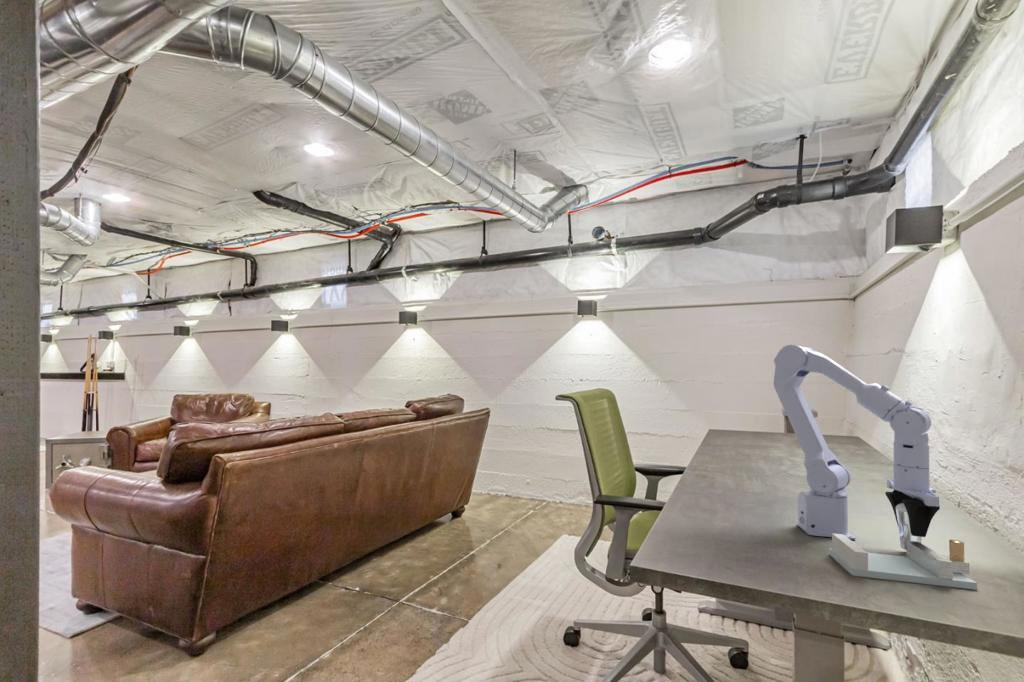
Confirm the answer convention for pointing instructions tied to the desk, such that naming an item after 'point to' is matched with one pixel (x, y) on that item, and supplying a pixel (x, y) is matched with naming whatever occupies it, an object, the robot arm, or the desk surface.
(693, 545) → the desk surface
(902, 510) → the milkshake
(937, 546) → the desk surface
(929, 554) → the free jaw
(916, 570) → the pale blue stepped plate
